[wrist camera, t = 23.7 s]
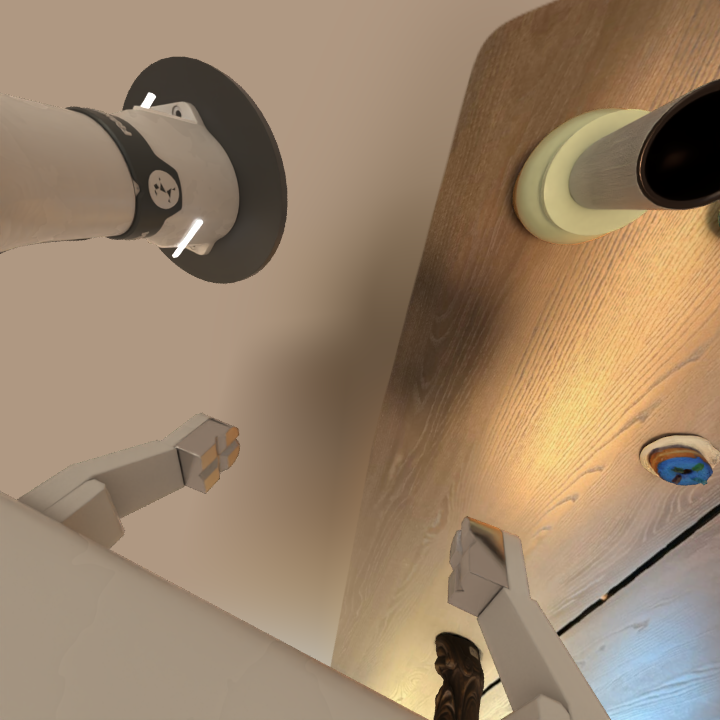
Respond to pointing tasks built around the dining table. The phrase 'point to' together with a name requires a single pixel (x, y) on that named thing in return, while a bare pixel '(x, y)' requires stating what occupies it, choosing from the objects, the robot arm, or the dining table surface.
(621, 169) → the grey tumbler
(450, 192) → the dining table surface
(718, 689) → the dining table surface
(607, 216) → the pale green two-tone container
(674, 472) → the dessert
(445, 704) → the sculpture
